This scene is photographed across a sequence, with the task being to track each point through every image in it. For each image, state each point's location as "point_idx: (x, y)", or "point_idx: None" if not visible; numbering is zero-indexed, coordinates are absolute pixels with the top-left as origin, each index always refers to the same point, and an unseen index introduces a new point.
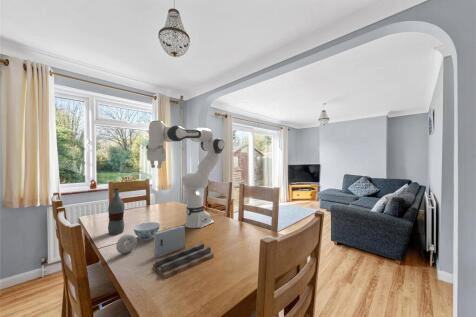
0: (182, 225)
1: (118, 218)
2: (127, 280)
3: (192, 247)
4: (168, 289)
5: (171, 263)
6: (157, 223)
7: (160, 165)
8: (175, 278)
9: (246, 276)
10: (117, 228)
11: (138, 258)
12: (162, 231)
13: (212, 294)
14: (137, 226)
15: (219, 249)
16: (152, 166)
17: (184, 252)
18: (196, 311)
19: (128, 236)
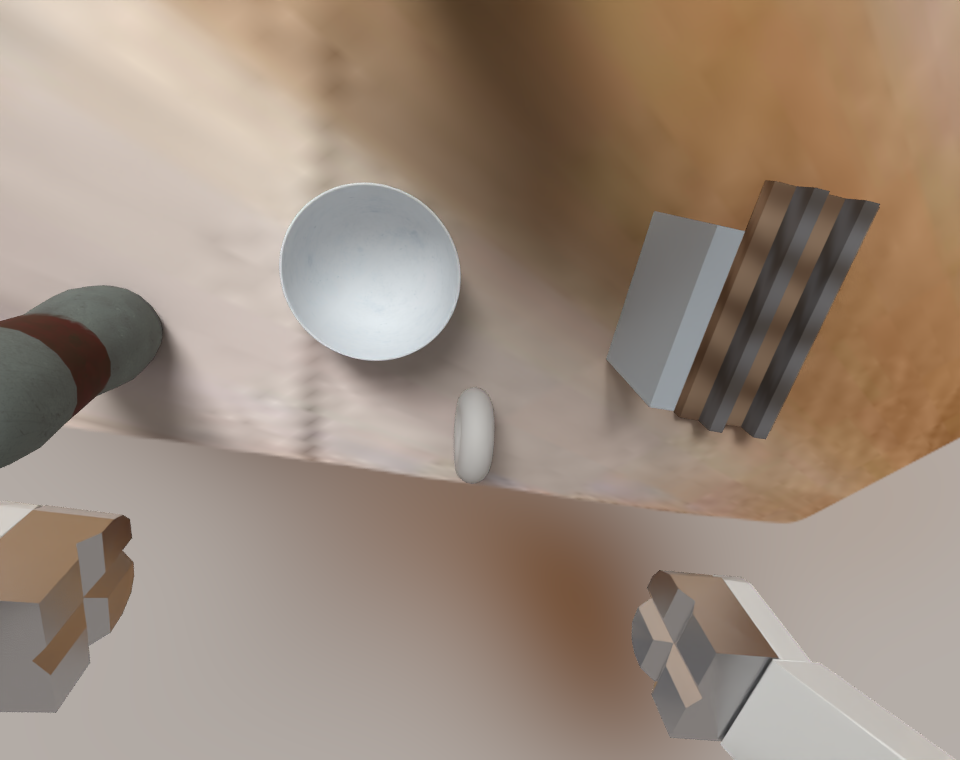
0: (719, 227)
1: (101, 371)
2: (658, 491)
3: (788, 261)
4: (807, 447)
5: (780, 405)
6: (369, 186)
7: (797, 680)
8: (795, 405)
9: None
10: (148, 352)
11: (562, 408)
12: (674, 371)
13: (944, 391)
14: (295, 303)
15: (870, 118)
16: (90, 630)
17: (772, 313)
18: (923, 454)
19: (492, 454)
